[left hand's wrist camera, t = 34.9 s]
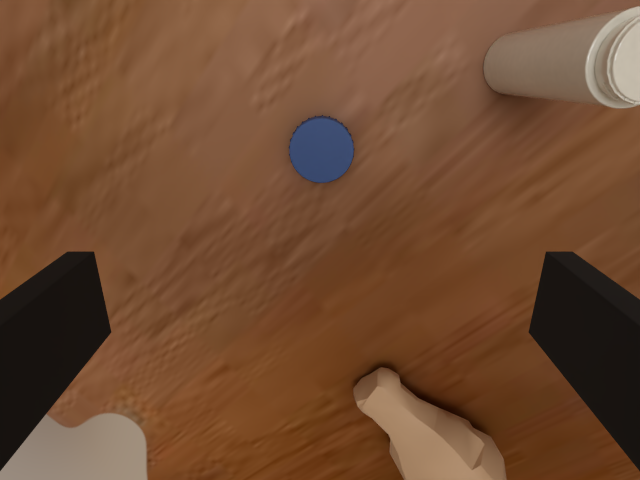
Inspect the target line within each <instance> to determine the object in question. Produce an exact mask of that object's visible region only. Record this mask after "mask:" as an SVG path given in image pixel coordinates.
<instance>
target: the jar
mask: <svg viewBox="0 0 640 480" xmlns="http://www.w3.org/2000/svg"><path fill="white" fill-rule="evenodd" d="M483 71H484V76H485V79H486V82H487V83H488V85H489V86H490V87H491V88H492V89H493V90H494V91H496V92H498V93H500V94H505V95H513V96H521V97H529V98H537V99H545V100H553V101H562V102H570V103H578V104H586V105H594V106H602V107H610V108H618V109H623V108H631V107H634V106H638V105H640V6H638V7H632V8H627V9H623V10H618V11H613V12H608V13H603V14H598V15H593V16H588V17H584V18H579V19H574V20H569V21H564V22H559V23H554V24H549V25H544V26H540V27H535V28H530V29H525V30H520V31H515V32H511V33H507V34H505V35H503V36H501V37H500V38H499V39H497V40H496V41H495V42H494V43H493V44H492V46H491V47H490V48H489V50H488V52H487V54H486V57H485V60H484V66H483Z"/></svg>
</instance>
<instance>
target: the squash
mask: <svg viewBox="0 0 640 480" xmlns="http://www.w3.org/2000/svg"><path fill="white" fill-rule="evenodd" d="M353 392H354V399H355V401H356V404H357V406H358V407H359V409H360V410H361V411H362V412H363V413H365V414H366V415H368V416H370V417H371V418H372V419H373V420H374V421H375V422H376V423H377V424H378V425H379V426H380V427H381V428H382V429H383V430H384V431H385V432H386V433H387V434H388V435H389V437H390V454H391V456H392V458H393V460H394V462H395V463H396V465H397V467H398V469H399V471H400V473H401V475H402V477H403V478H404V480H506V473H505V465H504V459H503V457H502V455H501V454H500V452H499V450H498V448H497V447H496V445H495V443H494V441H493V440H492V438H491V437H490V436H488V435H486V434H484V433H482V432H480V431H478V430H477V429H475V428H473V427H472V425H471V424H470V422H469V421H468V420H466V419H464V418H461V417H459V416H457V415H455V414H452V413H450V412H448V411H446V410H443V409H441V408H438V407H436V406H434V405H432V404H430V403H427V402H425V401H423V400H421V399H419V398H417V397H416V396H415V395H414V394H413V393H412V392H410V391H409V390H408V389H407V388H406V387H405V386H404V385H402V384H401V383H400V378H399V375H398V374H397V373H395V372H393V371H392V370H390V369H389V368H383V367H380V368H379V369H377V370H376V371H374V372H372V373H371V374H369V375H367V376H365V377H363V378H361V379H360V381H359V382H358V383H357V385H356V386H355V387H354V388H353Z"/></svg>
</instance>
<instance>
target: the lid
mask: <svg viewBox="0 0 640 480" xmlns="http://www.w3.org/2000/svg"><path fill="white" fill-rule="evenodd" d="M347 130H348V129H347V128H345V127H344V126H343V124H342V122H341V123H340V122H339V121H337V119H333V118H330V116H329V117H326V116H323V115H322V116H317V117H316V116H315V117H313V118H308V120H306V121H304V122H302V124H301V125H300V126H297V128H296V131H295V132H293V134H292V135H293V137H292V138H291V140H290V142H291V143H290V146H289V148H290V149H289V150H290V154H289V155H290V158H291V162H292V164H293V166H294V168H295V169H296V171H297V172H298V173H299V174H300V175H301V176H303V177H304V178H306V179H307V180H310V181H313V182H318V183H325V182H330V181H333V180H335V179H337V178H339V177H340V176H342V175H343V174H344V173H345V172H346V171H347V170H348V168H349V166H350V164H351V162H352V159H353V153H354V147H353V140H352V139H351V134H349V132H348V131H347Z"/></svg>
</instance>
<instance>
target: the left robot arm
mask: <svg viewBox="0 0 640 480" xmlns="http://www.w3.org/2000/svg"><path fill="white" fill-rule="evenodd" d="M110 333H111V329H110V324H109V319H108V315H107V310H106V305H105V301H104V296H103V292H102V287H101V282H100V278H99V273H98V268H97V264H96V259H95V254H94V252H66V253H65V254H64V255H62V256H61V257H59V258H58V259H57V260H55V261H54V262H52V263H51V264H50V265H48V266H47V267H45V268H44V269H43V270H41V271H40V272H38V273H37V274H36V275H34V276H33V277H31V278H30V279H29V280H27V281H26V282H24V283H23V284H22V285H20V286H19V287H17V288H16V289H15V290H13V291H12V292H10V293H9V294H8V295H6V296H5V297H3V298H2V299H1V300H0V471H1V469H2V468H3V467H4V466H5V464H6V463H7V462H8V461H9V459H10V458H11V457H12V456H13V454H14V453H15V452H16V451H17V449H18V448H19V447H20V446H21V444H22V443H23V442H24V441H25V439H26V438H27V437H28V436H29V434H30V433H31V432H32V431H33V429H34V428H35V427H36V426H37V424H38V423H39V422H40V421H41V419H42V418H43V417H44V416H45V414H46V413H47V412H48V411H49V409H50V408H51V407H52V406H53V404H54V403H55V402H56V401H57V399H58V398H59V397H60V396H61V394H62V393H63V392H64V391H65V389H66V388H67V387H68V386H69V384H70V383H71V382H72V381H73V379H74V378H75V377H76V376H77V374H78V373H79V372H80V371H81V369H82V368H83V367H84V366H85V364H86V363H87V362H88V361H89V359H90V358H91V357H92V356H93V354H94V353H95V352H96V351H97V349H98V348H99V347H100V346H101V344H102V343H103V342H104V341H105V339H106V338H107V337H108V336H109V334H110ZM529 333H530V334H531V336H532V337H533V338H534V339H535V341H536V342H537V343H538V344H539V346H540V347H541V348H542V349H543V351H544V352H545V353H546V354H547V356H548V357H549V358H550V359H551V361H552V362H553V363H554V364H555V366H556V367H557V368H558V369H559V371H560V372H561V373H562V374H563V376H564V377H565V378H566V379H567V381H568V382H569V383H570V384H571V386H572V387H573V388H574V389H575V391H576V392H577V393H578V394H579V396H580V397H581V398H582V399H583V401H584V402H585V403H586V404H587V406H588V407H589V408H590V409H591V411H592V412H593V413H594V414H595V416H596V417H597V418H598V419H599V421H600V422H601V423H602V424H603V426H604V427H605V428H606V429H607V431H608V432H609V433H610V434H611V436H612V437H613V438H614V439H615V441H616V442H617V443H618V444H619V446H620V447H621V448H622V449H623V451H624V452H625V453H626V454H627V456H628V457H629V458H630V459H631V461H632V462H633V463H634V464H635V466H636V467H637V468H638V469H639V471H640V300H639V299H638V298H637V297H635V296H634V295H632V294H631V293H630V292H628V291H627V290H625V289H624V288H623V287H621V286H620V285H618V284H617V283H616V282H614V281H613V280H611V279H610V278H609V277H607V276H606V275H604V274H603V273H602V272H600V271H599V270H597V269H596V268H595V267H593V266H592V265H590V264H589V263H588V262H586V261H585V260H583V259H582V258H581V257H579V256H578V255H576V254H575V253H574V252H546V254H545V259H544V264H543V268H542V273H541V278H540V282H539V287H538V292H537V296H536V301H535V305H534V310H533V315H532V319H531V324H530V329H529Z"/></svg>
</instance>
